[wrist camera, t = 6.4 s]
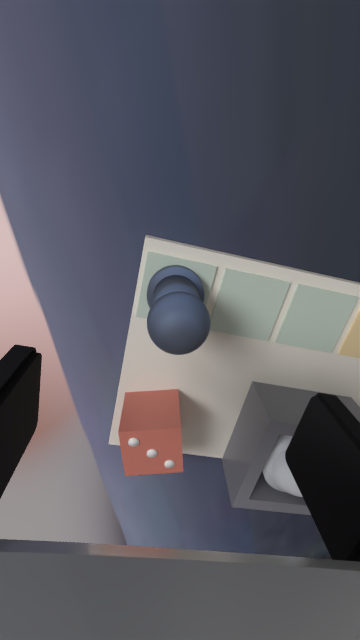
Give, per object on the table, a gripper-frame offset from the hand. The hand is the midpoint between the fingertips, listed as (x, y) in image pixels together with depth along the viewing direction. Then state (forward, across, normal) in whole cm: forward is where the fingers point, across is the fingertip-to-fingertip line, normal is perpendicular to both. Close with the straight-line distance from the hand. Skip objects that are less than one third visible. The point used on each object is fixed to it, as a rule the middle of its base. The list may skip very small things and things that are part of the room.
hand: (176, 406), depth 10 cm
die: (+11, -1, +9) cm, 14 cm away
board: (+11, -10, +5) cm, 16 cm away
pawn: (+10, 0, -1) cm, 10 cm away
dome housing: (+12, -12, +9) cm, 19 cm away
